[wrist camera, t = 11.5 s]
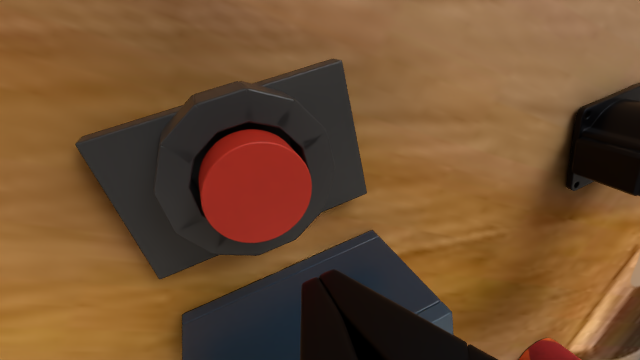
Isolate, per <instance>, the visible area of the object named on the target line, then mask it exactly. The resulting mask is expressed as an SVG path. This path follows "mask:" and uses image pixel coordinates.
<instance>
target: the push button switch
mask: <svg viewBox="0 0 640 360" xmlns="http://www.w3.org/2000/svg"><path fill="white" fill-rule="evenodd" d="M246 129H258V130H264V131H268V132H271V133H273V134H275V135H277V136H279V137H280V138H282V139H283V140H284V141H285V142H286V143H287V144H288V145H289V146H290V147H291V148H292V149H293V150H294V151H295V152H296V153H297V154H298V155H299V156H300V157H301V158H302V160H303V161H304V163H305V164H306V166H307V168H308V170H309V173H310V176H311V181H312V193H311V198H310V202H309V205H308V207H307V209H306V211H305V213H304V215H303V216H302V218H301V219H300V220H299V221H298V223H297V224H296V225H295V226H294V227H292V228H291V229H290V230H289V231H287V232H286V233H284V234H283V235H281V236H279V237H277V238H274V239H271V240H268V241H264V242H258V243H244V242H238V241H234V240H232V239H229V238H227V237H225V236H223V235H222V234H220V233H219V232H217V231H216V230H215V229H214V228H213V227H212V226H211V225H210V223H209V222H208V220H207V219H206V217H205V215H204V212H203V210H202V205H201V198H200V190H199V180H198V177H199V169H200V165H201V163H202V160H203V158H204V156H205V155H206V153H207V152H208V150H209V149H210V148H211V147H212V146H213V145H214V144H215V143H216V142H217V141H219V140H220V139H221V138H223V137H225V136H226V135H228V134H231V133H233V132H236V131H240V130H246ZM76 147H77V148H78V150H79V152H80V153H81V155H82V156H83V158H84V160H85V161H86V163H87V164H88V166H89V168H90V169H91V171H92V172H93V174H94V176H95V177H96V179H97V180H98V182H99V184H100V185H101V187H102V188H103V190H104V192H105V193H106V195H107V196H108V198H109V200H110V201H111V203H112V204H113V206H114V208H115V209H116V211H117V212H118V214H119V216H120V217H121V219H122V220H123V222H124V224H125V225H126V227H127V228H128V230H129V232H130V233H131V235H132V237H133V238H134V240H135V241H136V243H137V245H138V246H139V248H140V249H141V251H142V253H143V254H144V256H145V257H146V259H147V261H148V262H149V264H150V265H151V267H152V269H153V270H154V272H155V273H156V275H157V277H158V278H159V279H162V278H165V277H167V276H170V275H172V274H174V273H177V272H179V271H182V270H184V269H186V268H189V267H191V266H194V265H196V264H198V263H201V262H203V261H206V260H208V259H210V258H213V257H215V256H218V255H255V256H256V255H261V254H263V253H265V252H268V251H270V250H272V249H275V248H277V247H279V246H282V245H284V244H286V243H289V242H291V241H293V240H296V238H298V237H299V236H300V234H301V233H302V232H303V231H304V230H305V229H306V228H307V227H308V226H309V225H310V224H311V223H312V221H313V220H314V219H315V218H316V217H317V216H318V215H319V214H320V213H321V212H323V211H326V210H328V209H330V208H333V207H335V206H338V205H340V204H342V203H345V202H347V201H350V200H352V199H354V198H357V197H359V196H362V195H364V194H366V193H367V191H366V185H365V180H364V175H363V170H362V164H361V159H360V154H359V148H358V143H357V138H356V132H355V127H354V122H353V117H352V111H351V106H350V101H349V95H348V90H347V85H346V79H345V74H344V69H343V64H342V61H341V60H337V59H330V60H327V61H324V62H321V63H318V64H314V65H311V66H308V67H305V68H301V69H298V70H295V71H292V72H289V73H285V74H282V75H279V76H276V77H273V78H269V79H266V80H263V81H260V82H256V83H253V84H250V83H246V82H242V81H239V82H238V81H236V82H233V83H229V84H226V85H223V86H220V87H216V88H213V89H210V90H207V91H203V92H200V93H197V94H194V95H192V96H191V97H190V98H189V99H188V101H187V102H186V103H185V104H184V105H182V106H179V107H176V108H173V109H170V110H166V111H163V112H160V113H157V114H153V115H150V116H147V117H144V118H141V119H137V120H134V121H131V122H128V123H125V124H121V125H118V126H115V127H112V128H108V129H105V130H102V131H99V132H96V133H92V134H89V135H86V136H83V137H81V138H80V139H79V141H78V142H77V143H76Z"/></svg>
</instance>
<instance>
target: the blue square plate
mask: <svg viewBox="0 0 640 360" xmlns="http://www.w3.org/2000/svg"><path fill="white" fill-rule="evenodd" d="M417 315H418V316H420V317H422V318H424V319H425V320H427V321H429V322H431V323H433V324H434V325H436V326H438V327H440V328H442V329H443V330H445V331H447V332H449V333H451V334H452V335H453V321H452V312H451V311H450V310H449V309H448V308H447V306H446V305H445V304H444V303H443V302H440V303H438V304H436V305H434V306H432V307H430V308H428V309H426V310H424V311H422V312H421V313H419V314H417Z"/></svg>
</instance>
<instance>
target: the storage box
mask: <svg viewBox="0 0 640 360" xmlns="http://www.w3.org/2000/svg"><path fill="white" fill-rule="evenodd" d="M332 269H336V270H338V271H339V272H341V273H343V274H345V275H347V276H348V277H350V278H352V279H354V280H356V281H357V282H359V283H361V284H363V285H365V286H366V287H368V288H370V289H372V290H374V291H375V292H377V293H379V294H381V295H382V296H384V297H386V298H388V299H390V300H391V301H393V302H395V303H397V304H399V305H400V306H402V307H404V308H406V309H408V310H409V311H411V312H413V313H415V314H419V313H421V312H422V311H424V310H426V309H428V308H430V307H432V306H434V305H436V304H438V303H440V302H441V301H440V299H439V298H438V297H437V296H436V295H435V294H434V293H433V292H432V291H431V290H430V289H429V288H428V287H427V286H426V285H425V284H424V283H423V282H422V281H421V280H420V279H419V278H418V276H417V275H416V274H415V273H414V272H413V271H412V270H411V269H410V268H409V267H408V266H407V265H406V264H405V263H404V262H403V261H402V260H401V259H400V258H399V257H398V256H397V255H396V254H395V253H394V252H393V250H392V249H391V248H390V247H389V246H388V245H387V244H386V243H385V242H384V241H383V240H382V239H381V238H380V237H379V236H378V235H377V234H376V233H375V232H374V231H373V230H371V231H368V232H366V233H364V234H362V235H359V236H357V237H355V238H353V239H350V240H348V241H346V242H344V243H341V244H339V245H337V246H335V247H333V248H330V249H328V250H326V251H324V252H321V253H319V254H317V255H315V256H312V257H310V258H308V259H306V260H303V261H301V262H299V263H297V264H294V265H292V266H290V267H288V268H285V269H283V270H281V271H279V272H276V273H274V274H272V275H270V276H267V277H265V278H263V279H261V280H258V281H256V282H254V283H252V284H249V285H247V286H245V287H243V288H240V289H238V290H236V291H234V292H231V293H229V294H227V295H225V296H222V297H220V298H218V299H216V300H213V301H211V302H209V303H207V304H204V305H202V306H200V307H198V308H195V309H193V310H191V311H189V312H186V313H184V314H183V315H182V360H300V339H301V287H302V284H303V283H304V282H306V281H308V280H310V279H312V278H314V277H318V278H319V276H320V275H321V274H323V273H325V272H328V271H330V270H332Z"/></svg>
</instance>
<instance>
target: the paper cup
mask: <svg viewBox="0 0 640 360" xmlns="http://www.w3.org/2000/svg"><path fill="white" fill-rule="evenodd" d="M519 360H581V359H579V358H578V357H577V356H575V355H574V354H573V353H571V352H570V351H569V350H567V349H566V348H565V347H563V346H562V345H560V344H559V343H558V342H556V341H555V340H553V339H551V338H545V339H542V340H540V341H538V342H536V343H535V344H533V345H532V346H531V347H529V348H528V349H527V350H526V351H525V352H524V353H523V354H522V356H521V357H520V358H519Z"/></svg>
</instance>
